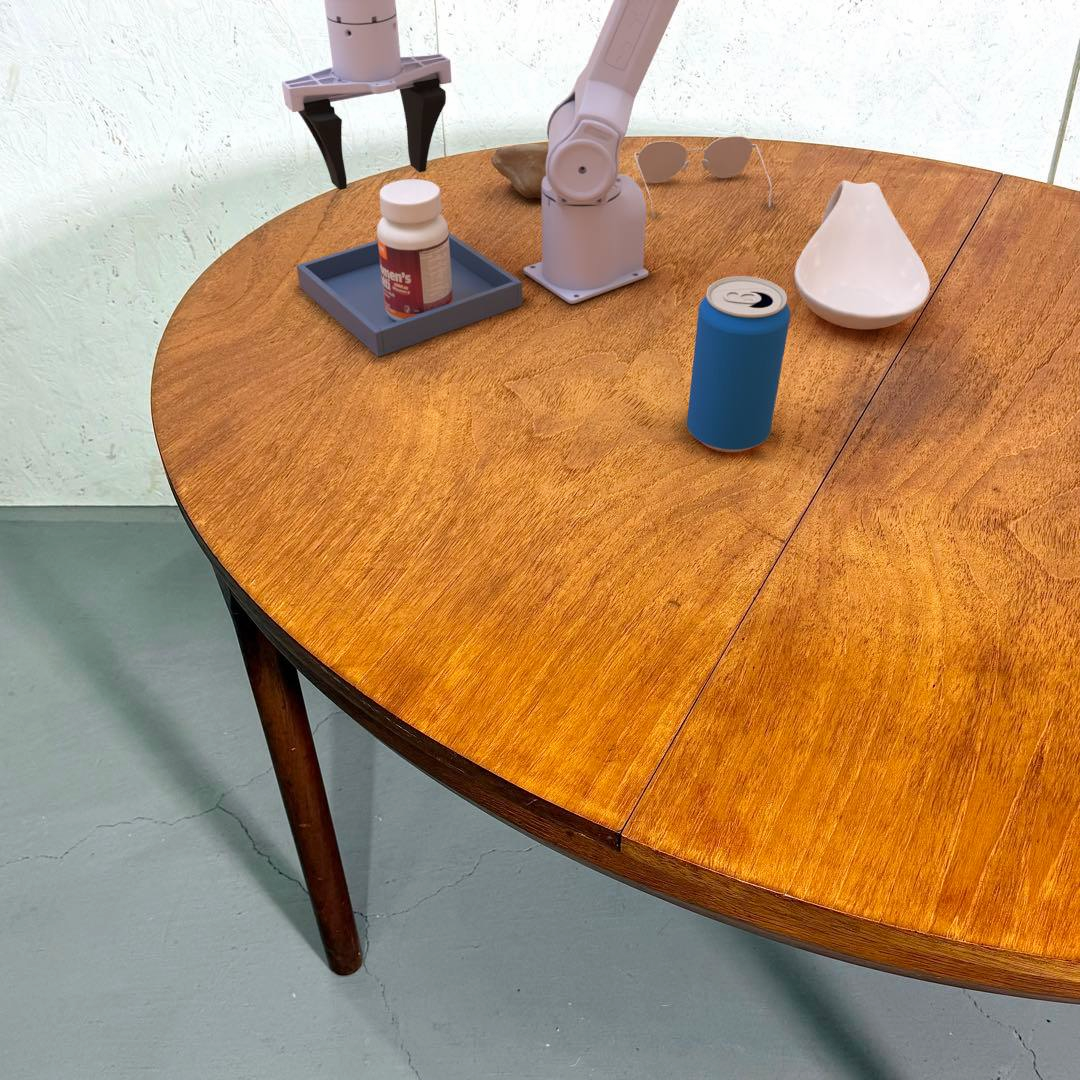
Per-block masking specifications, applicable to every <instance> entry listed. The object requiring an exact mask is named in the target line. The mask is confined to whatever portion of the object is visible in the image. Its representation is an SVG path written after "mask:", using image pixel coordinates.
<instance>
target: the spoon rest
mask: <svg viewBox="0 0 1080 1080" xmlns="http://www.w3.org/2000/svg"><path fill="white" fill-rule="evenodd" d="M834 189H835V190H834V191H833V193H832V195H831V196H830V198H829V200H828V202H827V205H826V207H825V209H824V213H823V216H822V219H821V225H820V226H819V227H818V229H817V230H816V231H815V232H814V234H813V235H812V236H811V238H810V239H809V241H808V242H807V244H806V245H805V247H804V248H803V250H802V251H801V253H800V254H799V257H798V258H797V261H796V263H795V266H794V271H793V273H794V274H793V277H794V278H793V279H794V284H795V287H796V290H797V293H798V294H799V297H800V298H801V299H802V300H803V302H804V303H805V305H806V306H807V307H808V309H809V310H810V311H812V312H813V313H814V314H816V315H817V316H818V317H819V318H821V319H823V320H825V321H827V322H829V323H831V324H833V325H836V326H840V327H843V328H848V329H853V330H877V329H883V328H888V327H891V326H894V325H897V324H899V323H902V322H904V321H905V320H907V319H908V318H911V317H912V316H913V315H915V314H916V313H917V312H918V311H919V310H920V309H922V307H923V306H924V304H925V303H926V302H927V300H928V298H929V296H930V292H931V279H930V277H929V274H928V271H927V269H926V266H925V265H924V263H923V261H922V259H921V257H920V256H919V254H918V252H917V251H916V248H915V247H914V245H913V244H912V243H911V241H910V240H909V238H908V236H907V234H906V233H905V231H904V230H903V227H901V225H900V223H899V222H898V219H897V218H896V217H895V214H894V213H893V211H892V209H891V208H890V206H889V204H888V202H887V200H886V198H885V196H884V194H883V191H882V190H881V188H880V185H878V183H876V182H874V181H871V182H866V183H855V182H852V181H849V180H846V179H844V180H842V181H840V183H839V184H838V185H837V186H836V188H834Z"/></svg>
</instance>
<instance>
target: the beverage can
mask: <svg viewBox="0 0 1080 1080" xmlns="http://www.w3.org/2000/svg"><path fill="white" fill-rule="evenodd" d="M787 301H788V295H787V293H786V291H785V290H784V289H783V288H782V287H780V286H779V285H778V284H777V283H775V282H772V281H770V280H768V279H764V278H760V277H755V276H746V275H736V276H727V277H724V278H721V279H718V280H716V281H713V282H712V283H711V284H710V285H709V286H708V288H707V289H706V295H705V296H704V297H703V298H702V300H701V301H700V303H699V306H698V313H697V320H696V321H697V323H696V331H695V339H694V341H695V342H694V348H693V349H694V350H693V358H692V359H693V360H692V367H691V368H692V369H691V380H690V388H689V397H688V406H687V408H688V409H687V416H686V426H687V429H688V431H689V433H690V435H692V437H694V439H696V440H697V441H699V442H700V443H702V444H703V445H704V446H706V447H708V448H710V449H712V450H714V451H718V452H723V453H740V452H744V451H747V450H750V449H753V448H755V447H757V446H760V445H761V444H763V443H765V442H766V441H767V440H768V438H769V437H770V435H771V433H772V432H771V431H772V427H773V420H774V415H775V408H776V402H777V396H778V390H779V385H780V379H781V374H782V367H783V361H784V356H785V349H786V345H787V344H786V343H787V338H788V333H789V327H790V321H791V311H790V308H789V305H788V304H787Z"/></svg>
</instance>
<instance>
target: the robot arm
mask: <svg viewBox="0 0 1080 1080" xmlns="http://www.w3.org/2000/svg"><path fill="white" fill-rule="evenodd" d="M323 1H324V2H323V3H324V8H325V16H326V17H325V18H326V25H327V32H328V39H329V48H330V55H331V62H332V66H330V67H328V68H324V69H322V70H318V71H315V72H313V73H309V74H306V75H303V76H299V77H297V78H293V79H289V80H284V81H281V86H282V87H281V88H282V92H283V93H282V94H283V99H284V105H285V106H286V107H287V109H289V110H290V111H291V112H292V113H296V112H297V113H298V114H299V116H300V117H301V119H302V121H303V122H304V123H305V125H306V126H307V128H308V130H309V132H310V133H311V135H312V137H313V138H314V140H315V142H316V145H317V146H318V149H319V151H320V154H321V155H322V157H323V160H324V163H325V165H326V169H327V171H328V174H329V177H330V181H331V184H332V185H334V186H335V187H336V188H337V189H338V190H339V191H341V190H346V189H347V188H348V183H347V182H348V181H347V173H346V168H345V161H344V157H343V140H342V139H343V138H342V135H343V134H342V128H343V119H342V118H341V117H340V116H338V115H337V114H336V112H335V107H334V106H332V104H331V103H333V102H340V101H345V100H349V99H350V100H351V99H356V98H361V97H365V96H370V95H381V94H386V93H387V94H388V93H392V92H395V91H397V90H399V94H400V98H401V102H402V107H403V112H404V118H405V126H406V133H407V134H406V136H407V137H406V138H407V152H408V158H409V164H410V166H411V167H412V168H414V170H416V171H417V172H418V173H424V172H426V171H427V165H428V157H429V151H430V146H431V142H432V138H433V134H434V131H435V128H436V125H437V122H438V119H439V118H440V116H441V113H442V111H443V109H444V107H445V105H446V102H447V93H446V92H447V91H446V90H445V89H444V88H442V87H441V85H446V84H450V83H452V67H451V66H452V65H451V59H450V58H448V57H446V56H445V55H443V54H442V53H436V54H430V55H429V54H428V55H417V56H401V49H400V48H401V47H400V35H399V24H398V13H397V3H396V0H323ZM612 1H613V2H612V3H611V6H610V8H609V11H608V12H607V13H608V14H607V16H606V19H605V21H604V23H603V25H602V28H601V30H600V33H599V35H598V37H597V40H596V42H595V44H594V46H593V49H592V52H591V54H590V57H589V59H588V62H587V64H586V66H585V67H584V68H583V70H582V71H581V72H580V73H579V75H578V77H577V78H576V81H575V82H574V86H573V88H572V90H571V91H570V92H569V94H568V96H567V97H566V98H564V99H563V100H562V101H561V102H560V103H559V104H557V106H555V108H554V109H553V110H552V112H551V113H550V116H549V118H548V120H547V121H548V122H547V125H546V126H547V127H546V135H547V136H546V137H547V141H548V143H547V144H548V145H547V146H548V155H547V159H546V167H545V170H546V176H545V177H544V178H543V180H542V199H541V261H538V262H535V263H533V264H530V265H526V266H525V267H524V268H523V274H524V275H526V276H528V277H529V278H531V279H532V280H533V281H535V282H536V283H538V284H539V285H541V286H543V288H546V289H547V290H549V292H552V293H553V294H554V295H556V296H557V297H559V298H561V299H562V300H563V301H565V302H566V303H568V304H571V305H573V304H577V303H581V302H582V301H583V302H584V301H585V300H588V299H591V298H593V297H596V296H599V295H601V294H605V293H607V292H610V291H612V290H615V289H618V288H621V287H623V286H626V285H628V284H631V283H634V282H637V281H639V280H643V279H645V278H648V277H649V273H650V272H649V271H648V269H645V268H644V262H645V245H646V231H647V229H646V228H647V204H646V200H645V196H644V193H643V191H642V188H641V187H640V186H639V184H638V182H636V181H635V179H633V178H632V177H631V176H629V175H628V174H625V173H624V174H623V173H620V150H621V146H622V144H623V141H624V139H625V137H626V134H627V132H628V128H629V123H630V119H631V115H632V110H633V107H634V104H635V103H634V102H635V99H636V97H637V95H638V93H639V90H640V88H641V86H642V83H643V81H644V79H645V77H646V75H647V73H648V70H649V68H650V66H651V63H652V62H653V59H654V57H655V56H656V55H655V54H656V53H657V50H658V48H659V46H660V44H661V41H662V39H663V37H664V35H665V33H666V31H667V28H668V26H669V25H670V22H671V19H672V17H673V15H674V13H675V11H676V9H677V6H678V4H679V2H680V0H612Z"/></svg>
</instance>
